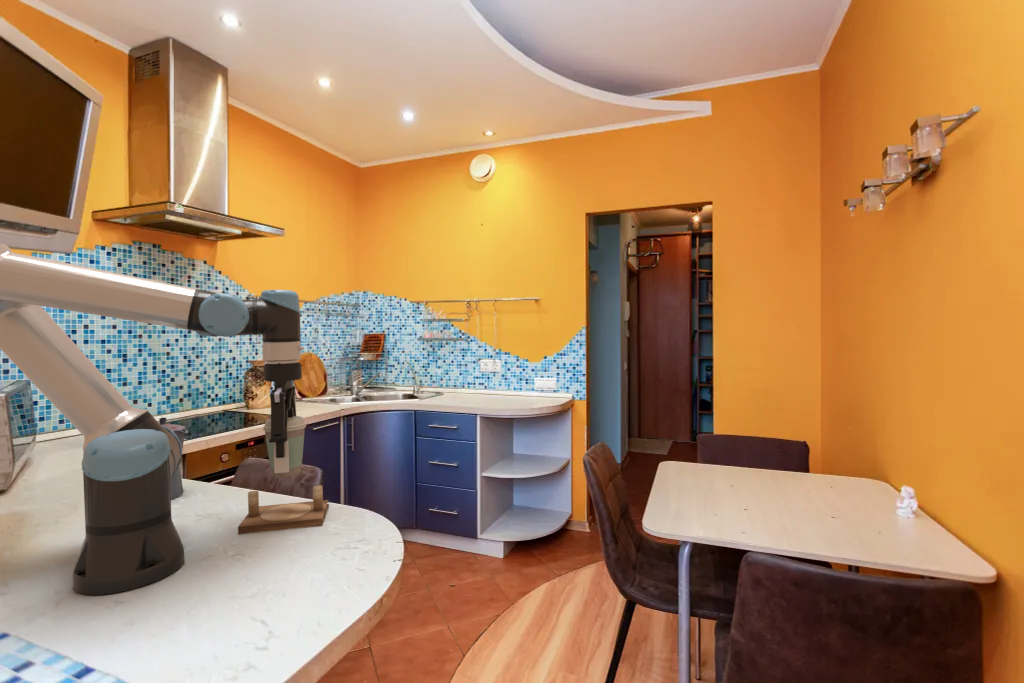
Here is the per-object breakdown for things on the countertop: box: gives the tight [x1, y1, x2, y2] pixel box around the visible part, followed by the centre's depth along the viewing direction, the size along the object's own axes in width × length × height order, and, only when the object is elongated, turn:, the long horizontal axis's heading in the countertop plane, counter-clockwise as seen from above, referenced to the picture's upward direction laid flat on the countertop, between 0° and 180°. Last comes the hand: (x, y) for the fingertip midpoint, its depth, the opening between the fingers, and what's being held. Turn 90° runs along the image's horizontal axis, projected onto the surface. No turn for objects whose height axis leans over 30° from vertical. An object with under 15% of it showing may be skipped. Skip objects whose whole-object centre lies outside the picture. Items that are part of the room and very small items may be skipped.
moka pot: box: [158, 417, 189, 500], centre depth 125 cm, size 10×15×20 cm, turn 89°
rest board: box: [237, 485, 330, 535], centre depth 109 cm, size 12×16×6 cm
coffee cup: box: [262, 415, 307, 479], centre depth 109 cm, size 8×8×12 cm
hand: (285, 467), depth 109 cm, fingers closed on coffee cup, 8 cm apart
